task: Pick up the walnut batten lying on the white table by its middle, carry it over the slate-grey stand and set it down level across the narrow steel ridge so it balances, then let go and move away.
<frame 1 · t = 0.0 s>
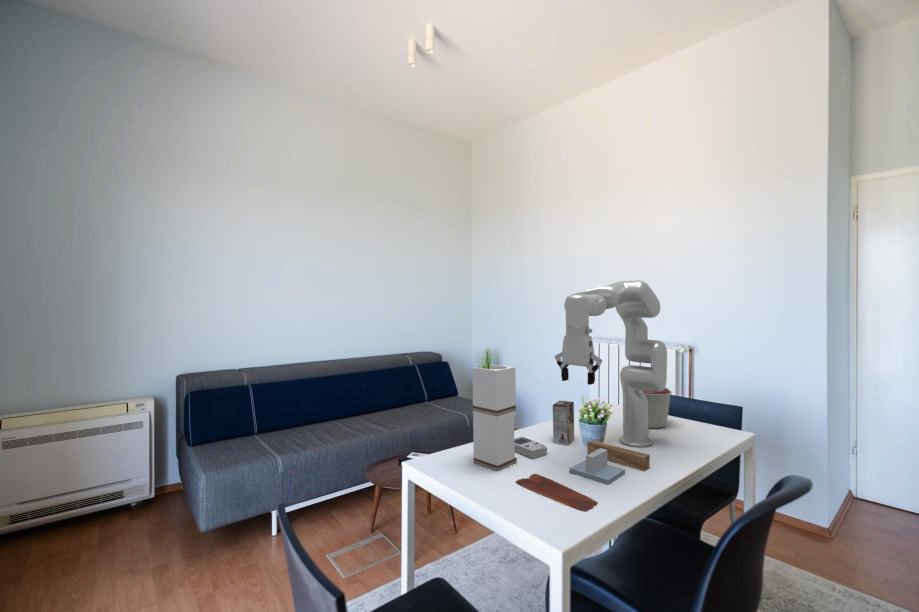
hand: (577, 382, 145), 31 cm above the table, tool pointing down, fingers open, 9 cm apart
wooden tablet: (555, 494, 132), on the table
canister: (650, 425, 200), on the table
handheld gaming device: (527, 452, 168), on the table
tall square planter: (495, 463, 156), on the table
ridge stand: (597, 473, 146), on the table
walnut batten: (617, 462, 156), on the table
coffee box: (563, 441, 179), on the table
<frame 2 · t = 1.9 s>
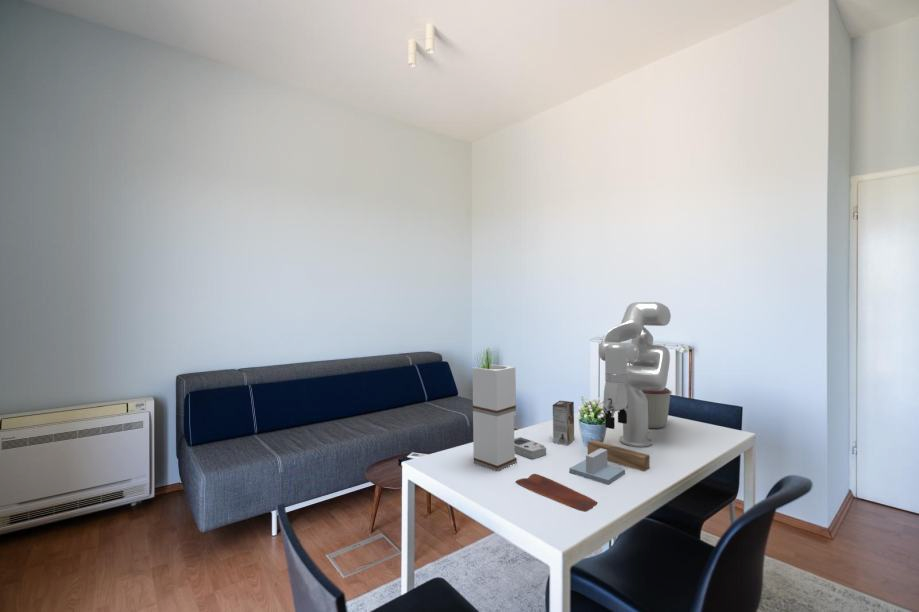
hand: (616, 425, 155), 13 cm above the table, tool pointing down, fingers open, 9 cm apart
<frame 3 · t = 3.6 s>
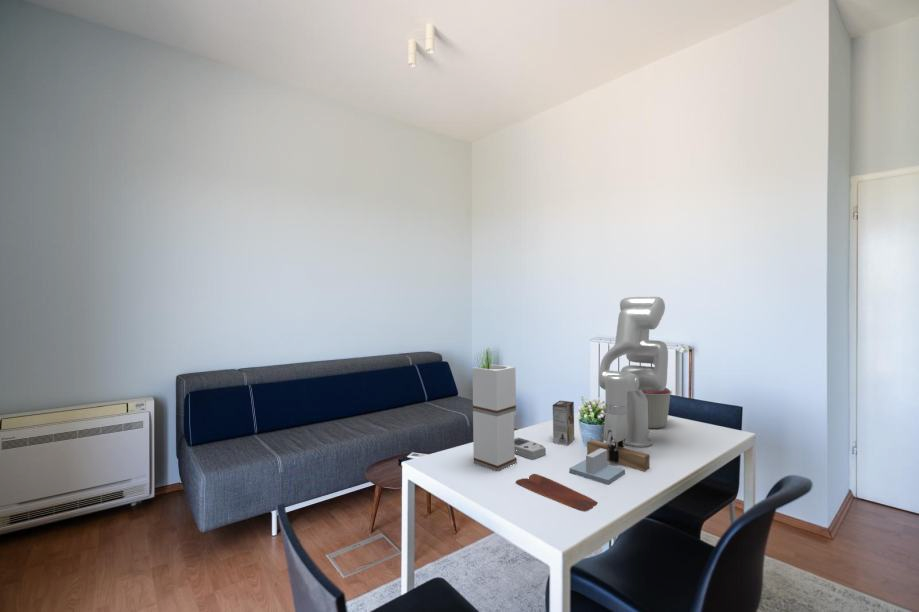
hand: (616, 458, 156), 1 cm above the table, tool pointing down, fingers closed on walnut batten, 4 cm apart
walnut batten: (616, 461, 156), on the table, touching gripper
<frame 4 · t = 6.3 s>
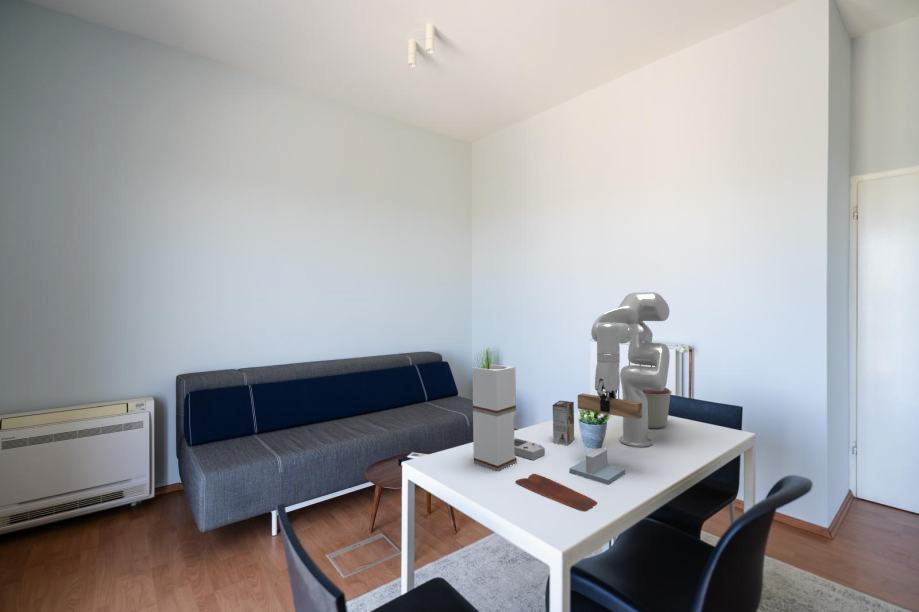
hand: (608, 409, 151), 20 cm above the table, tool pointing down, fingers closed on walnut batten, 4 cm apart
walnut batten: (608, 412, 151), point 19 cm above the table, touching gripper
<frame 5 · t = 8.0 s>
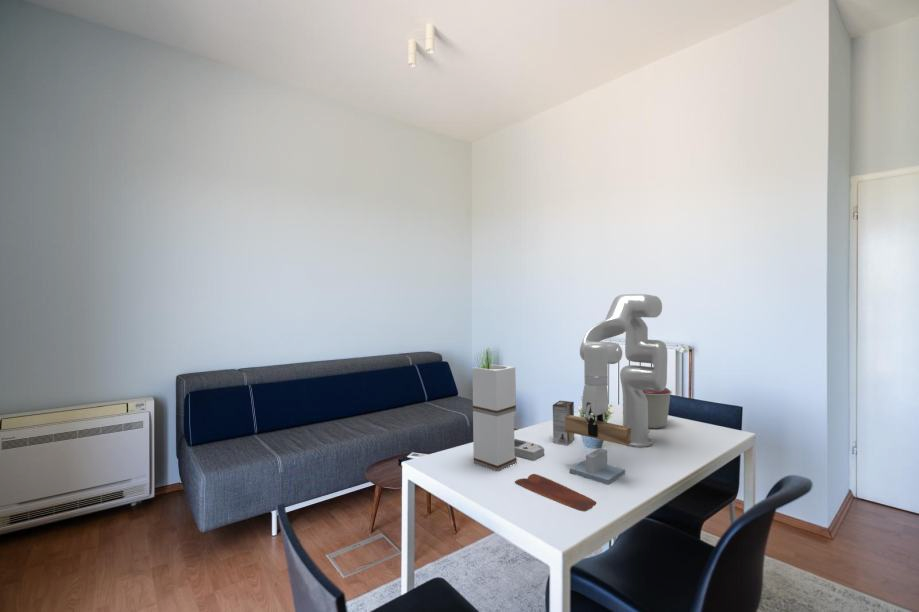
hand: (596, 433, 145), 13 cm above the table, tool pointing down, fingers closed on walnut batten, 4 cm apart
walnut batten: (596, 436, 145), point 13 cm above the table, touching gripper
when the fingers open (9 cm above the table, at t = 9.1 s): walnut batten stays where it is, resting on ridge stand.
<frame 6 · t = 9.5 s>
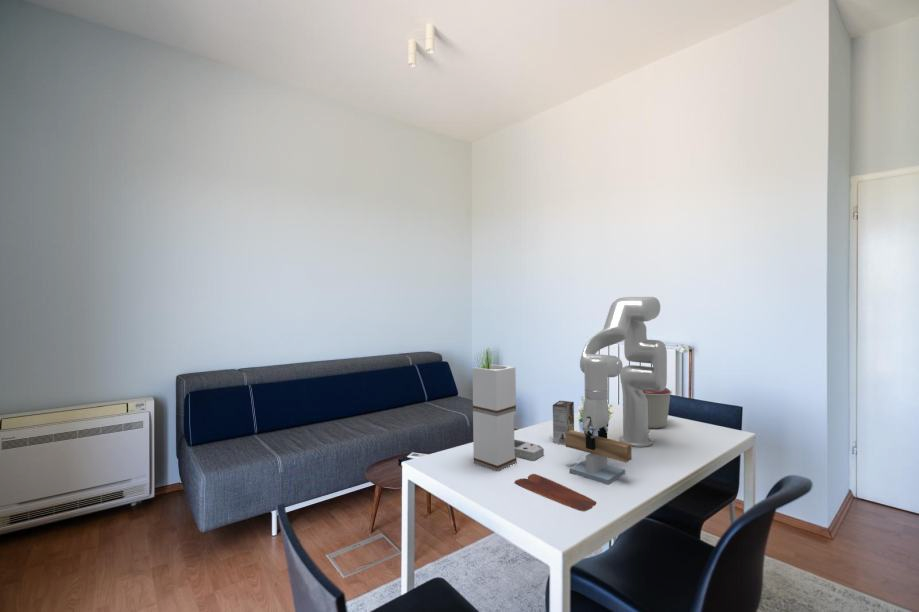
hand: (596, 445, 146), 9 cm above the table, tool pointing down, fingers open, 7 cm apart
walnut batten: (597, 452, 146), point 7 cm above the table, touching ridge stand
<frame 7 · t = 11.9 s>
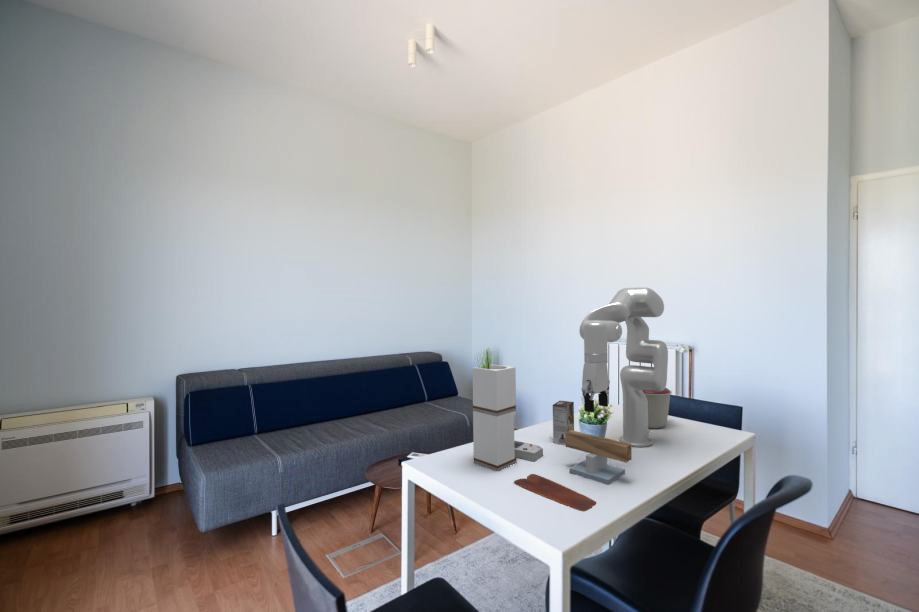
hand: (596, 408, 146), 22 cm above the table, tool pointing down, fingers open, 9 cm apart
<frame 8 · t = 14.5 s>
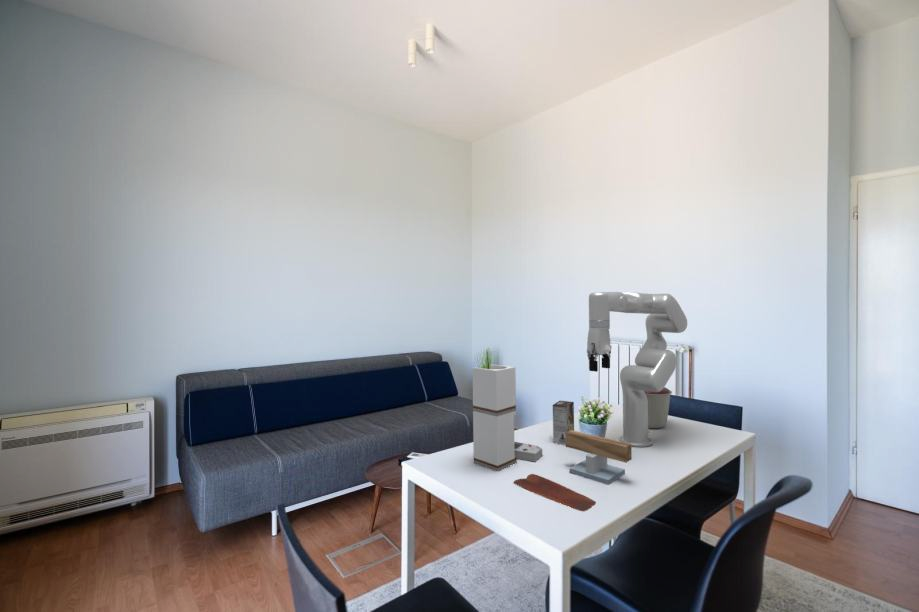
hand: (599, 369, 164), 32 cm above the table, tool pointing down, fingers open, 9 cm apart
at the end: walnut batten 0.1 cm off-centre on the ridge stand, point 7.0 cm above the ridge stand's base; walnut batten tilted 0°; the gripper is holding nothing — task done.
